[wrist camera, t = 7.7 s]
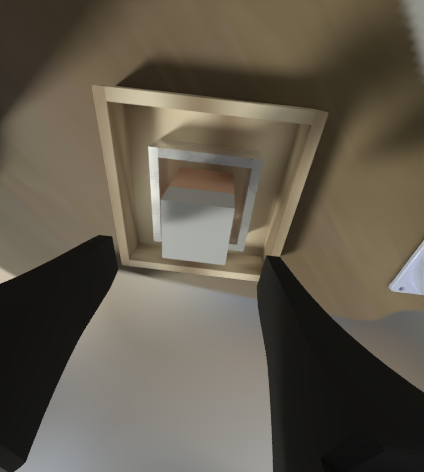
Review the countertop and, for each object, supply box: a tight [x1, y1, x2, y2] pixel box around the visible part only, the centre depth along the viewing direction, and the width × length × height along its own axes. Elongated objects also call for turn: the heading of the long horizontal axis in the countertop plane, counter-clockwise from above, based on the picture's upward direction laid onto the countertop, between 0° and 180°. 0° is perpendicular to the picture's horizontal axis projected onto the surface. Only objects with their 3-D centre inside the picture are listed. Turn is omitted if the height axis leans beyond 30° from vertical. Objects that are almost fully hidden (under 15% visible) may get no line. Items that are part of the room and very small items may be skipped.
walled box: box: [92, 85, 329, 281], centre depth 17 cm, size 13×13×3 cm
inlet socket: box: [148, 139, 263, 252], centre depth 17 cm, size 7×7×2 cm
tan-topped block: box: [160, 167, 235, 265], centre depth 15 cm, size 4×4×6 cm
